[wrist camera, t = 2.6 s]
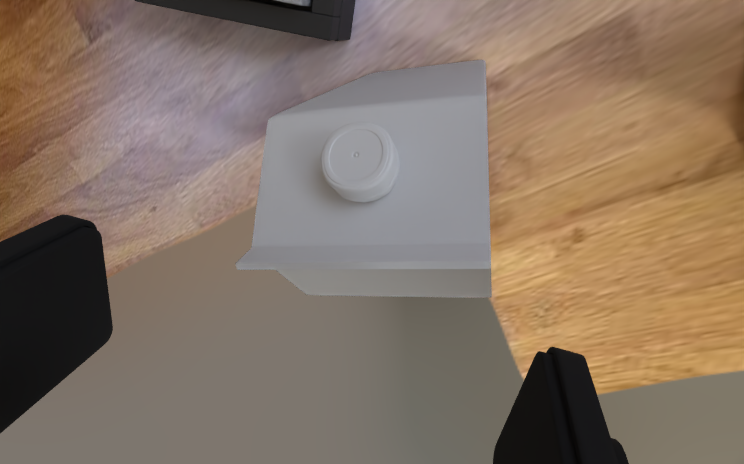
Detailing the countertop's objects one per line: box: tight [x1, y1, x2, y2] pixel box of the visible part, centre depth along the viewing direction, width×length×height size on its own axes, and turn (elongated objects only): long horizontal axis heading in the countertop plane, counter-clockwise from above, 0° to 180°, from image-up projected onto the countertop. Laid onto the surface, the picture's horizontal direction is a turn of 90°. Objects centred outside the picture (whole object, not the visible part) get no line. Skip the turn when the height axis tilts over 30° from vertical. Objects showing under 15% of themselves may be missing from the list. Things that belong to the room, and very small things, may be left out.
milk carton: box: [236, 60, 492, 298], centre depth 20 cm, size 7×7×19 cm
